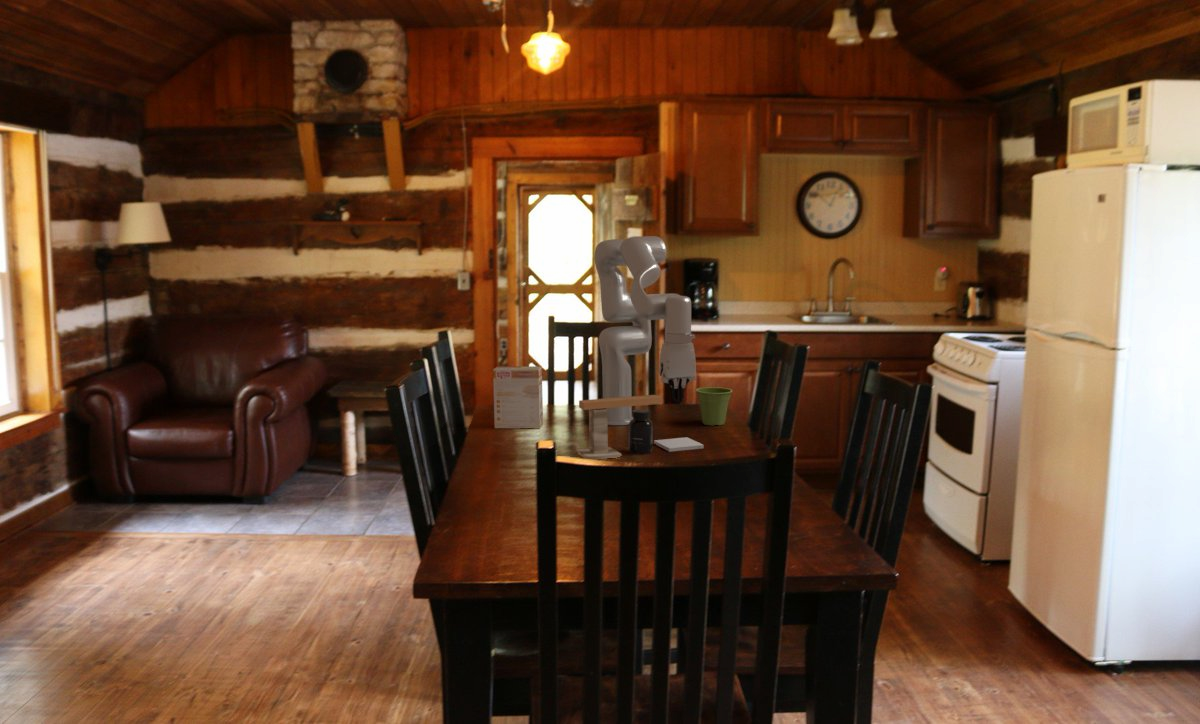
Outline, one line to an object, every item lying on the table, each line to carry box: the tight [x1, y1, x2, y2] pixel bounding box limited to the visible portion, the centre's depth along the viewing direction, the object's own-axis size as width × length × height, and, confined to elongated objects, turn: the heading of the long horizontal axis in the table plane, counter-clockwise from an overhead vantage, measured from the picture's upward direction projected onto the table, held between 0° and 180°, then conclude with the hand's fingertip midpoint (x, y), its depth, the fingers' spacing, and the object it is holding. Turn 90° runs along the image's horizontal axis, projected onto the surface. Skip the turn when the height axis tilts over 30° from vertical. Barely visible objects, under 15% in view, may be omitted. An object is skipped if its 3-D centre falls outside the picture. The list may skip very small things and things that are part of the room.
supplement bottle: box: [628, 409, 654, 454], centre depth 286 cm, size 7×7×12 cm
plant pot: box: [695, 386, 733, 427], centre depth 323 cm, size 12×12×11 cm
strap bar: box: [578, 394, 663, 411], centre depth 282 cm, size 4×24×2 cm, turn 111°
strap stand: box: [575, 408, 623, 461], centre depth 281 cm, size 10×10×14 cm
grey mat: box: [653, 436, 704, 453], centre depth 293 cm, size 11×11×1 cm
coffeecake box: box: [492, 365, 544, 430], centre depth 321 cm, size 15×7×20 cm, turn 84°
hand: (677, 401), depth 289 cm, fingers closed
